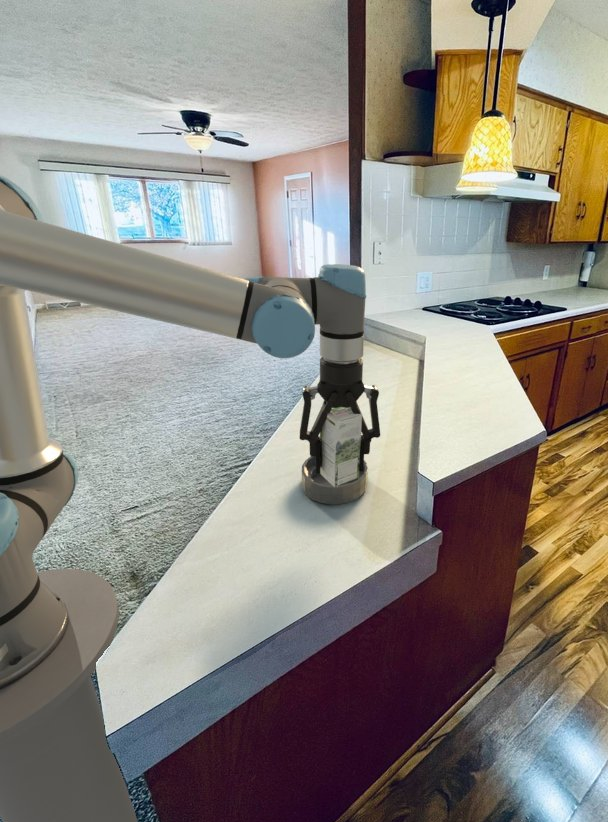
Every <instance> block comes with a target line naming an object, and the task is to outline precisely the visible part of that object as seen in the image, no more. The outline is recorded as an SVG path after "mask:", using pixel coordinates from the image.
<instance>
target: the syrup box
mask: <svg viewBox="0 0 608 822" xmlns="http://www.w3.org/2000/svg"><path fill="white" fill-rule="evenodd" d="M362 416H363V414H362V415H361V414H353V412H352V410H351V407H350V408H344V407H339V408H332V409H331V411H330V413H329V414H328V415H327V419H326V421H325V423H324V425H323V427H322V429H321V431H320V434H319V436H320V474H321V475H322V476H323V477H324V478H325V479H326V480H327V481H328V482H329V483H330V484H332V485H333V486H334V487H338V486H340V485H342V484H345V483H347V482H350V481H352V480H355V479H357V478H359V464H360V445H361V435H362V432H361V426H362Z"/></svg>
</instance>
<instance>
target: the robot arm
mask: <svg viewBox="0 0 608 822" xmlns="http://www.w3.org/2000/svg"><path fill="white" fill-rule="evenodd" d="M318 271H319V273H318V275H317V276H314V277H288V276H287V277H286V276H284V277H283V276H268V275H262V276H248V277H244V278H240V277H237V276H234V275H230V274H227V273H223V272H220V271H216V270H212V269H209V268H207V267H202V266H199V265H195V264H192V263H188V262H185V261H181V260H178V259H174V258H170V257H167V256H164V255H160V254H156V253H153V252H149V251H146V250H143V249H139V248H135V247H132V246H128V245H125V244H123V243H118V242H114V241H111V240H107V239H104V238H100V237H97V236H93V235H90V234H88V233H87V234H86V233H82V232H80V231H76V230H73V229H70V228H66V227H62V226H60V225H59V226H58V225H55V224H51V223H48V222H46V221H45V222H44V220H43V216H42V214H41V211H40V210H39V208H38V205H36V203H35V202H34V200H33V199H32V198H31V197H30V196H29V194H28V193H27V192H26V191H25V190H23V189H22V188H21V187H20V186H19V185H17V184H16V183H15V182H13V181H12V180H11V179H9V178H7V177H5V176H3V175H1V174H0V689H2V688H4V687H6V686H8V685H10V684H12V683H14V682H16V681H17V680H19V679H20V678H22V677H24V676H25V675H27V674H28V673H29V672H31V671H32V670H33V669H35V668H36V667H37V666H38V665H40V664H41V663H42V662H43V661H44V660H45V659H46V658H47V657H48V656H49V655H50V654H51V653H52V652H53V651H54V649H55V648H56V647H57V646H58V644H59V643H60V641H61V640H62V638H63V637H64V635H65V633H66V630H67V627H68V623H69V615H68V611H67V608H66V605H65V603H64V601H63V600H62V599H61V598H60V597H59V596H58V595H57V594H55V593H53V592H51V590H50V589H49V588H48V587H47V586H46V585H45V584H43V583H42V582H41V581H40V579H39V576H38V573H37V572H38V570H37V567H36V563H35V561H34V558H33V556H34V552H35V550H36V549H37V547H38V546H39V544H40V543H41V541H42V540H43V538H44V537H45V535H46V534H47V532H48V531H49V529H50V528H51V527H52V525H53V523H54V522H55V521H56V519H57V518H58V516H59V515H60V513H61V512H62V510H63V509H64V508H65V507H66V506H67V505H68V503H69V502H70V500H71V499H72V496H73V495H74V491H76V487H77V484H78V481H79V469H78V466H77V464H76V461H75V460H74V458H73V457H72V456H71V455H70V454H66V453H65V452H64V451H65V450H64V449H63V446H62V444H61V442H60V441H58V440H56V439H54V438H52V437H49V432H48V427H47V426H48V425H47V421H46V415H45V408H44V403H43V397H42V396H43V394H42V390H41V389H42V388H41V384H40V383H41V382H40V377H39V372H38V366H37V360H36V354H35V347H34V341H33V336H32V330H31V323H30V316H29V312H28V305H27V299H26V293H25V292H26V291H27V292H33V293H36V294H41V295H46V296H50V297H55V298H58V299H62V300H67V301H72V302H75V303H80V304H84V305H89V306H93V307H98V308H102V309H106V310H111V311H114V312H115V311H116V312H119V313H124V314H128V315H133V316H137V317H141V318H145V319H150V320H152V321H153V320H154V321H159V322H163V323H167V324H171V325H175V326H179V327H184V328H189V329H192V330H196V331H202V332H206V333H209V334H215V335H219V336H223V337H226V338H227V337H228V338H232V339H235V340H241V341H244V342H248V343H252V344H257V345H258V347H259V348H260V349H261V350H262V351H263V352H265V353H266V354H268V355H269V356H271V357H274V358H278V359H291V358H294V357H298V356H300V355H301V354H303V353H304V352H305V351H306V350H308V348H309V347H310V346H311V344H312V343H313V341H314V338H315V334H316V326H317V325H318V326H319V356H320V358H319V382H318V383H317V385H315V386H308V385H304V386H303V387H302V399H303V406H302V414H301V421H300V426H299V440H300V441H308V443H309V457H315V456H316V473H320V431H321V429H322V427H323V425H324V423H325V421H326V419H327V415H328V414H329V413H330V411H331V409H332V408H339V407H344V408H350V407H351V410H352V412H353V414H361V415H362V426H361V445H360V464H359V471H363V470H364V461H365V455H370V452H371V443H372V439H374V438H375V439H378V438H380V437H381V428H380V420H379V419H380V418H379V409H378V398H379V395H380V391H379V389H378V386H377V385H376V384H372V385H370V386H369V385H365V384H364V382H363V372H364V370H363V369H364V359H362V358H363V357H364V345H365V314H366V313H365V312H366V299H367V292H366V291H367V289H366V273H365V270H364V269H363V268H361V267H360V266H358V265H352V264H343V263H342V264H340V263H334V264H329V263H328V264H323V265H321V266H320V268H319V270H318ZM364 393H365V396H366V399H368V404H369V413H370V422H371V427H372V428H369V427H368V425H367V423H366V421H365V418H364V416H363V413H362V411H361V409H360V406H359V404H358V402H357V401H358V400H359V399H360V397H362V395H363V394H364ZM317 394H319V396H320V397H321V398H322V399H323V402H322V405H321V407H320V410H319V412H318V414H317V416H316V418H315V420H314V423H313V425H312V427H311V429H310V430H308V428H309V424H310V423H309V422H310V417H311V409H312V401H314V400H315V399H316V395H317Z"/></svg>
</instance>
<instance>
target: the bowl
mask: <svg viewBox="0 0 608 822" xmlns="http://www.w3.org/2000/svg"><path fill="white" fill-rule="evenodd" d="M368 467H369V466H368V463H367V462H366V461H365V460H364V470H363V471H359V478H357V479H355V480H352V481H350V482H347V483H345V484H342V485H340V486H338V487H334V486H333V485H332V484H330V483H329V482H328V481H327V480H326V479H325V478H324V477H323V476H322V475H321V474H320V473H316V456H315V457H311V456H309V457H308V458H307V459H305V461H304V462H303V464H302V465H301V489H302V490H303V493H304V495H306V496H307V497H308V498H309V499H310V500H313V501H315V502H318V503H320V504H326V505H342V504H346V503H350V502H353V501H354V500H356V499H358V498H360V497H362V495H363V494H364V493H365V492H366V489H367V487H368V478H369V477H368V474H369V468H368Z"/></svg>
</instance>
